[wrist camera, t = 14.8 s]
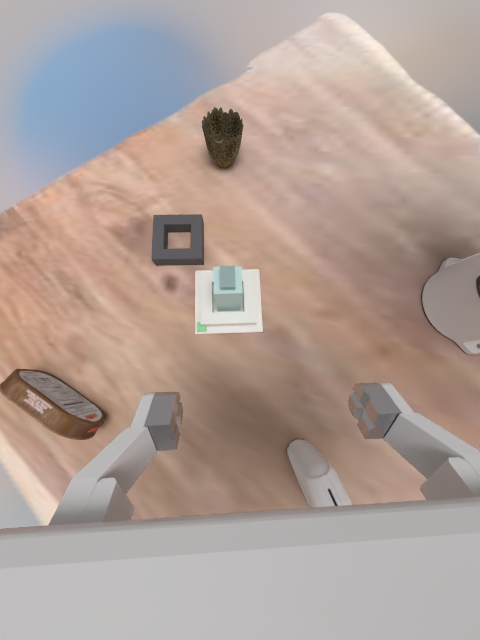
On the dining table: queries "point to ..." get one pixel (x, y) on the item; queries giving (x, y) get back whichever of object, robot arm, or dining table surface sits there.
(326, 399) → the dining table surface
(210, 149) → the cup
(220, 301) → the plug
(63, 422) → the tin
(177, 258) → the holster
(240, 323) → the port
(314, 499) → the photo printer
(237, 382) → the dining table surface
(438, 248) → the dining table surface
